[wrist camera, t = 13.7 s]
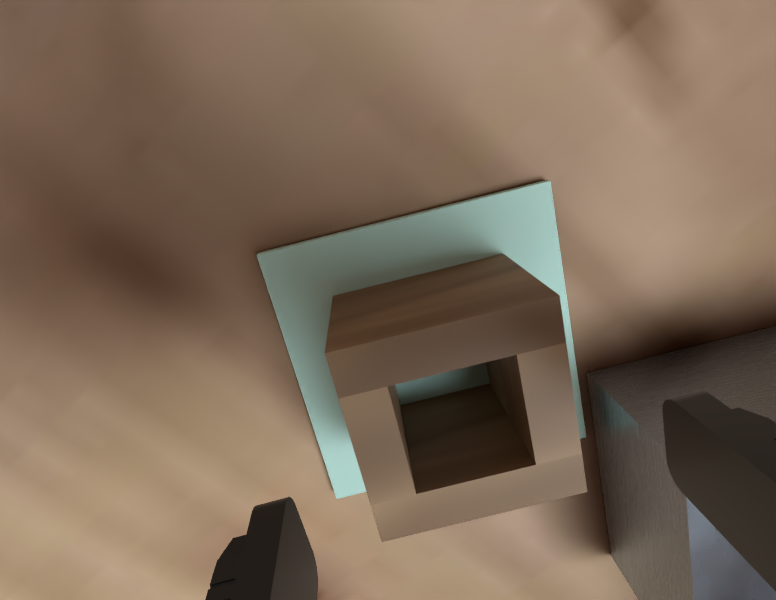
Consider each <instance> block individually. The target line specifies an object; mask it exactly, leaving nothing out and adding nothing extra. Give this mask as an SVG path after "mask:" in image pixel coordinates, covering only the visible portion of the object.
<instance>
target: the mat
mask: <svg viewBox="0 0 776 600" xmlns="http://www.w3.org/2000/svg"><path fill="white" fill-rule="evenodd" d="M499 254H505V255H506V256H507V257H509V258H510V259H511V260H513V261H514V262H515V263H517V264H518V265H519V266H521V267H522V268H523V269H525V270H526V271H527V272H529V273H530V274H532V275H533V276H534V277H536V278H537V279H538V280H540V281H541V282H542V283H544V284H545V285H546V286H548V287H549V288H550V289H552V290H553V291H554V292H556V293H557V294H558V295H560V302H561V309H562V316H563V323H564V330H565V337H566V344H567V351H568V358H569V366H570V373H571V380H572V387H573V394H574V401H575V408H576V415H577V422H578V429H579V436H580V439H581V438H585V437H586V431H585V424H584V417H583V410H582V403H581V396H580V389H579V381H578V374H577V367H576V360H575V353H574V346H573V339H572V332H571V324H570V317H569V310H568V303H567V296H566V289H565V282H564V274H563V267H562V260H561V253H560V246H559V239H558V232H557V225H556V217H555V210H554V203H553V196H552V189H551V182H550V181H549V180H544V181H540V182H536V183H532V184H528V185H524V186H520V187H516V188H512V189H508V190H505V191H501V192H497V193H493V194H489V195H485V196H481V197H477V198H473V199H469V200H465V201H461V202H457V203H453V204H449V205H445V206H441V207H437V208H433V209H429V210H425V211H421V212H417V213H414V214H410V215H406V216H402V217H398V218H394V219H390V220H386V221H382V222H378V223H374V224H370V225H366V226H362V227H358V228H354V229H350V230H346V231H342V232H338V233H334V234H330V235H326V236H323V237H319V238H315V239H311V240H307V241H303V242H299V243H295V244H291V245H287V246H283V247H279V248H275V249H271V250H267V251H263V252H259V253H258V254H257V255H256V256H257V259H258V262H259V265H260V268H261V271H262V274H263V277H264V280H265V283H266V286H267V289H268V292H269V295H270V298H271V301H272V304H273V307H274V310H275V313H276V316H277V319H278V322H279V325H280V328H281V331H282V334H283V338H284V341H285V344H286V347H287V350H288V353H289V356H290V359H291V362H292V365H293V368H294V371H295V374H296V377H297V380H298V383H299V386H300V389H301V392H302V395H303V398H304V401H305V404H306V407H307V410H308V413H309V416H310V420H311V423H312V426H313V429H314V432H315V435H316V438H317V441H318V444H319V447H320V450H321V453H322V456H323V459H324V462H325V465H326V468H327V471H328V474H329V477H330V480H331V483H332V486H333V489H334V492H335V495H336V498H337V499H338V498H342V497H346V496H350V495H354V494H358V493H362V492H366V488H365V485H364V482H363V479H362V475H361V472H360V469H359V465H358V462H357V459H356V455H355V452H354V449H353V445H352V442H351V439H350V436H349V432H348V429H347V426H346V422H345V419H344V416H343V412H342V409H341V406H340V402H339V399H338V396H337V393H336V389H335V386H334V383H333V379H332V376H331V373H330V369H329V366H328V363H327V359H326V356H325V348H326V340H327V333H328V326H329V319H330V312H331V305H332V298H333V296H334V295H338V294H342V293H346V292H350V291H354V290H358V289H362V288H366V287H370V286H374V285H378V284H383V283H387V282H391V281H395V280H399V279H403V278H407V277H411V276H415V275H419V274H423V273H427V272H431V271H435V270H439V269H443V268H447V267H451V266H455V265H459V264H463V263H467V262H471V261H475V260H479V259H483V258H487V257H491V256H495V255H499ZM489 383H490V381H489V376H488V371H487V366H486V362H485V363H481V364H477V365H473V366H469V367H465V368H461V369H457V370H453V371H449V372H445V373H441V374H437V375H433V376H429V377H424V378H420V379H416V380H412V381H408V382H404V383H400V384H396V385H395V386H396V390H397V394H398V397H399V401H400V405H403V404H408V403H412V402H416V401H420V400H424V399H428V398H432V397H436V396H440V395H444V394H448V393H452V392H456V391H460V390H464V389H468V388H473V387H477V386H481V385H485V384H489Z"/></svg>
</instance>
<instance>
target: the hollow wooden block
mask: <svg viewBox="0 0 776 600" xmlns="http://www.w3.org/2000/svg"><path fill="white" fill-rule="evenodd" d="M325 356H326V359H327V363H328V366H329V369H330V373H331V376H332V379H333V383H334V386H335V389H336V393H337V396H338V399H339V402H340V406H341V409H342V412H343V416H344V419H345V422H346V426H347V429H348V432H349V436H350V439H351V442H352V445H353V449H354V452H355V455H356V459H357V462H358V465H359V469H360V472H361V475H362V479H363V482H364V485H365V488H366V492H367V495H368V498H369V502H370V505H371V508H372V512H373V515H374V518H375V522H376V525H377V528H378V531H379V535H380V538H381V541H382V542H384V541H388V540H392V539H396V538H400V537H404V536H409V535H413V534H417V533H421V532H425V531H429V530H433V529H437V528H441V527H446V526H450V525H454V524H458V523H462V522H466V521H470V520H474V519H478V518H483V517H487V516H491V515H495V514H499V513H503V512H507V511H511V510H515V509H519V508H524V507H528V506H532V505H536V504H540V503H544V502H548V501H552V500H556V499H561V498H565V497H569V496H573V495H577V494H581V493H585V492H587V486H586V479H585V471H584V464H583V457H582V450H581V443H580V436H579V429H578V422H577V415H576V408H575V401H574V394H573V387H572V380H571V373H570V366H569V358H568V351H567V344H566V337H565V330H564V323H563V316H562V309H561V302H560V295H558V294H557V293H556V292H554V291H553V290H552V289H550V288H549V287H548V286H546V285H545V284H544V283H542V282H541V281H540V280H538V279H537V278H536V277H534V276H533V275H532V274H530V273H529V272H527V271H526V270H525V269H523V268H522V267H521V266H519V265H518V264H517V263H515V262H514V261H513V260H511V259H510V258H509V257H507V256H506V255H505V254H499V255H495V256H491V257H487V258H483V259H479V260H475V261H471V262H467V263H463V264H459V265H455V266H451V267H447V268H443V269H439V270H435V271H431V272H427V273H423V274H419V275H415V276H411V277H407V278H403V279H399V280H395V281H391V282H387V283H383V284H378V285H374V286H370V287H366V288H362V289H358V290H354V291H350V292H346V293H342V294H338V295H334V296H333V298H332V305H331V312H330V319H329V326H328V333H327V340H326V348H325ZM485 362H486V366H487V371H488V376H489V381H490V383H489V384H485V385H481V386H477V387H473V388H468V389H464V390H460V391H456V392H452V393H448V394H444V395H440V396H436V397H432V398H428V399H424V400H420V401H416V402H412V403H408V404H403V405H400V401H399V397H398V394H397V390H396V386H395V385H396V384H400V383H404V382H408V381H412V380H416V379H420V378H424V377H429V376H433V375H437V374H441V373H445V372H449V371H453V370H457V369H461V368H465V367H469V366H473V365H477V364H481V363H485Z"/></svg>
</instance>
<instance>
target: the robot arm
mask: <svg viewBox="0 0 776 600" xmlns="http://www.w3.org/2000/svg"><path fill="white" fill-rule="evenodd" d="M662 412H663V424H664V436H665V448H666V460H667V465H668V469H669V471H670V474H671V476H672V478H673V480H674V482H675V484H676V485H677V487H678V488H679V490H680V491H681V492H682V493H683V494H684V495H685V496H686V497H687V498H688V499H689V500H690V502H691V503H692V504H693V505H694V506H695V507H696V508H697V509H698V510H699V511H700V512H701V513H702V514H703V515H704V516H705V517H706V518H707V520H708V521H709V522H710V523H711V524H712V525H713V526H714V527H715V528H716V529H717V530H718V531H719V532H720V533H721V534H722V535H723V536H724V538H725V539H726V540H727V541H728V542H729V543H730V544H731V545H732V546H733V547H734V548H735V549H736V550H737V551H738V552H739V553H740V554H741V556H742V557H743V558H744V559H745V560H746V561H747V562H748V563H749V564H750V565H751V566H752V567H753V568H754V569H755V570H756V571H757V572H758V574H759V575H760V576H761V577H762V578H763V579H764V580H765V581H766V582H767V583H768V584H769V585H770V586H771V587H772V588H773V589H774V590H775V591H776V423H775V422H774V421H772V420H771V419H769V418H767V417H764V416H761V415H758V414H756V413H753V412H750V411H747V410H745V409H742V408H739V407H738V408H734V409H730V408H729V407H728V406H726V405H725V404H723V403H722V402H721V401H719V400H718V399H716V398H715V397H713V396H712V395H711V394H709V393H707V392H705V391H698V392H694V393H690V394H686V395H682V396H678V397H675V398H671V399H667V400H665V401H664V403H663V407H662ZM317 590H318V575H317V567H316V561H315V557H314V553H313V551H312V548H311V545H310V542H309V540H308V537H307V535H306V532H305V529H304V527H303V524H302V521H301V519H300V516H299V513H298V511H297V508H296V505H295V503H294V501H293V499H292V498H291V497H287V498H284V499H280V500H276V501H272V502H268V503H265V504H261V505H257V506H255V507H254V508H253V511H252V514H251V519H250V523H249V527H248V531H247V535H243V536H240V537H236V538H233V539H232V541H231V542H230V543H229V545H228V546H227V548H226V549H225V551H224V552H223V553H222V555H221V556H220V558H219V559H218V560H217V563H216V566H215V570H214V573H213V576H212V580H211V583H210V589H209V590H208V593H207V596H206V600H317Z"/></svg>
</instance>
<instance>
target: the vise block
mask: <svg viewBox="0 0 776 600" xmlns="http://www.w3.org/2000/svg"><path fill="white" fill-rule="evenodd" d="M587 378H588V386H589V393H590V401H591V408H592V416H593V423H594V431H595V438H596V446H597V453H598V461H599V468H600V475H601V483H602V490H603V498H604V505H605V513H606V520H607V528H608V535H609V543H610V550H611V556H612V558H613V559H614V561H615V563H616V564H617V566H618V567H619V569H620V571H621V572H622V574H623V575H624V577H625V579H626V580H627V582H628V583H629V585H630V587H631V588H632V590H633V591H634V593H635V595H636V596H637V598H638V599H639V600H776V591H775V590H774V589H773V588H772V587H771V586H770V585H769V584H768V583H767V582H766V581H765V580H764V579H763V578H762V577H761V576H760V575H759V574H758V572H757V571H756V570H755V569H754V568H753V567H752V566H751V565H750V564H749V563H748V562H747V561H746V560H745V559H744V558H743V557H742V556H741V554H740V553H739V552H738V551H737V550H736V549H735V548H734V547H733V546H732V545H731V544H730V543H729V542H728V541H727V540H726V539H725V538H724V536H723V535H722V534H721V533H720V532H719V531H718V530H717V529H716V528H715V527H714V526H713V525H712V524H711V523H710V522H709V521H708V520H707V518H706V517H705V516H704V515H703V514H702V513H701V512H700V511H699V510H698V509H697V508H696V507H695V506H694V505H693V504H692V503H691V502H690V500H689V499H688V498H687V497H686V496H685V495H684V494H683V493H682V492H681V491H680V490H679V488H678V487H677V485H676V484H675V482H674V480H673V478H672V476H671V474H670V471H669V469H668V465H667V460H666V448H665V436H664V424H663V412H662V407H663V403H664V401H665V400H667V399H671V398H675V397H678V396H682V395H686V394H690V393H694V392H698V391H705V392H707V393H709V394H711V395H712V396H713V397H715V398H716V399H718V400H719V401H721V402H722V403H723V404H725V405H726V406H728V407H729V408H730V409H734V408H738V407H739V408H742V409H745V410H747V411H750V412H753V413H756V414H758V415H761V416H764V417H767V418H769V419H771V420H772V421H774V422H775V423H776V326H773V327H769V328H765V329H761V330H757V331H753V332H749V333H745V334H741V335H737V336H733V337H729V338H725V339H721V340H717V341H713V342H709V343H705V344H701V345H697V346H693V347H689V348H685V349H681V350H677V351H673V352H669V353H665V354H661V355H657V356H653V357H649V358H645V359H641V360H637V361H632V362H628V363H624V364H620V365H616V366H612V367H608V368H604V369H600V370H596V371H592V372H588V373H587Z"/></svg>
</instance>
